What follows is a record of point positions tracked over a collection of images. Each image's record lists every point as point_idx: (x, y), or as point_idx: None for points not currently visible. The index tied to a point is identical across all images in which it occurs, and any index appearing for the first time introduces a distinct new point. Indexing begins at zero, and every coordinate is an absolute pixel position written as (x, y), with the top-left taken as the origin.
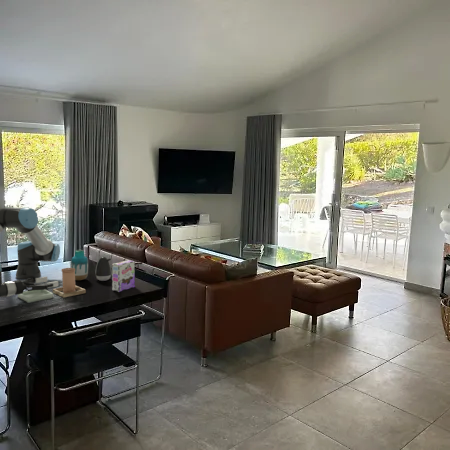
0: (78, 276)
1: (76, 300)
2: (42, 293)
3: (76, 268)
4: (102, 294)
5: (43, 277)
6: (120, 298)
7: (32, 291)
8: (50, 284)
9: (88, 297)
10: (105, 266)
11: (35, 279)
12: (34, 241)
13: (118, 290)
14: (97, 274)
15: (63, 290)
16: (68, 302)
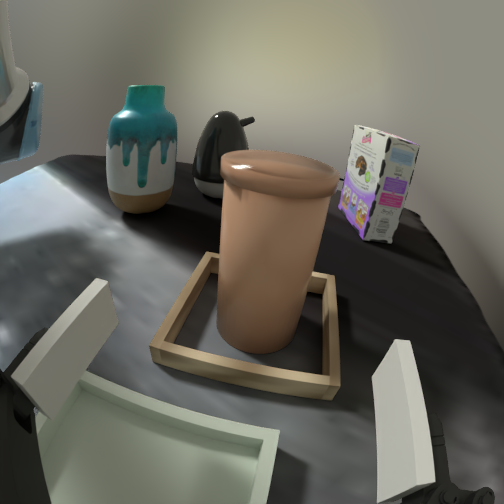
0: (154, 197)
1: (428, 379)
2: (124, 427)
3: (147, 162)
4: (393, 276)
5: (82, 312)
6: (459, 277)
7: (42, 439)
8: (443, 448)
9: (408, 322)
10: (245, 144)
11: (18, 387)
12: None
13: (392, 239)
14: (218, 177)
15: (252, 336)
16: None
